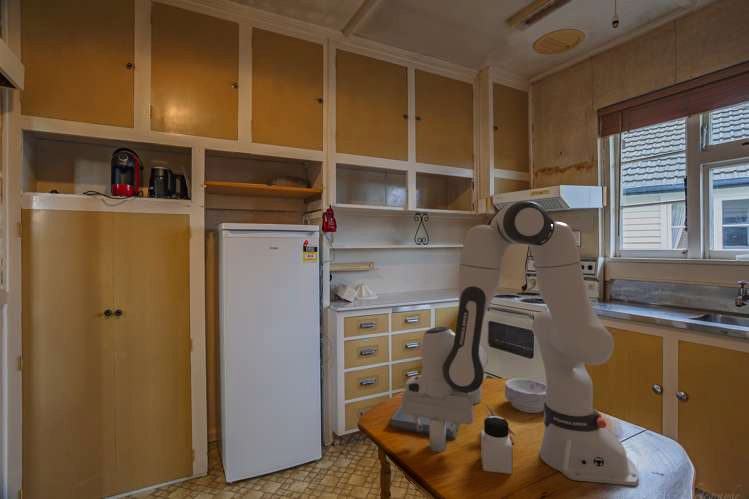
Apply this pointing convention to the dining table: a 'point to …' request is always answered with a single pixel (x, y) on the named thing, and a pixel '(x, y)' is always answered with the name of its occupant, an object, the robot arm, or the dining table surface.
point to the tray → (408, 423)
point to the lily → (495, 415)
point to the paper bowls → (526, 394)
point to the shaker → (437, 434)
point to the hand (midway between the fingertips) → (436, 433)
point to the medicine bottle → (496, 446)
